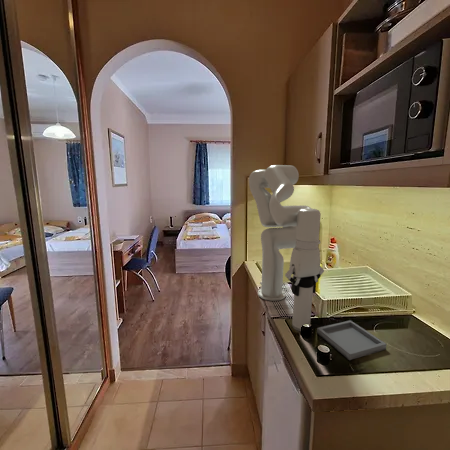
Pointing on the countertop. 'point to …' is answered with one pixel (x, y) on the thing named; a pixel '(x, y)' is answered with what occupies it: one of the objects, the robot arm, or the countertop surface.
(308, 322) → the travel mug
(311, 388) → the countertop surface
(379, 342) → the tray
